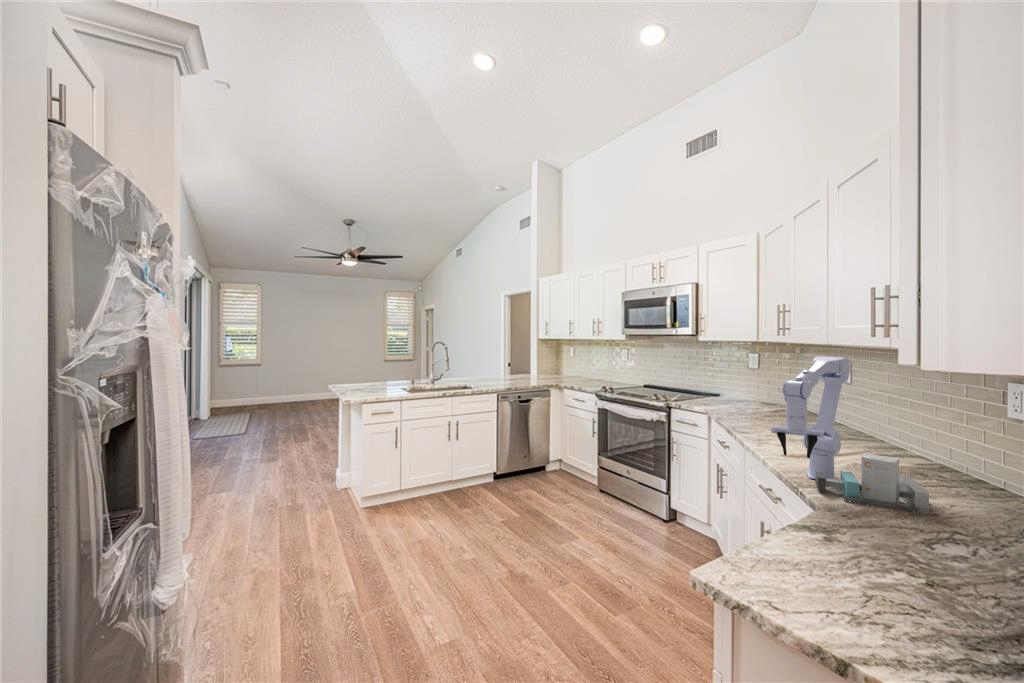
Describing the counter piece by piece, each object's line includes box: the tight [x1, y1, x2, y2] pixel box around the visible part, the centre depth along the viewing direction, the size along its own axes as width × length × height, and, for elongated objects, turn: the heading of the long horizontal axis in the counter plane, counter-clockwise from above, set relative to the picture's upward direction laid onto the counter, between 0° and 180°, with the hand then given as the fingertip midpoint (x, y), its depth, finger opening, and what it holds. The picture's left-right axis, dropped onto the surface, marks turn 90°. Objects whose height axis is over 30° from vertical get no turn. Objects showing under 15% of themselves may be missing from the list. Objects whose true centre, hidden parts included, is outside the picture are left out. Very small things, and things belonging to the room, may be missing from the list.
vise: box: [842, 475, 930, 515], centre depth 127 cm, size 15×19×6 cm
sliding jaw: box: [815, 470, 860, 498], centre depth 133 cm, size 11×10×6 cm
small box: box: [860, 453, 900, 503], centre depth 127 cm, size 8×6×13 cm
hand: (796, 456), depth 138 cm, fingers open, 6 cm apart
